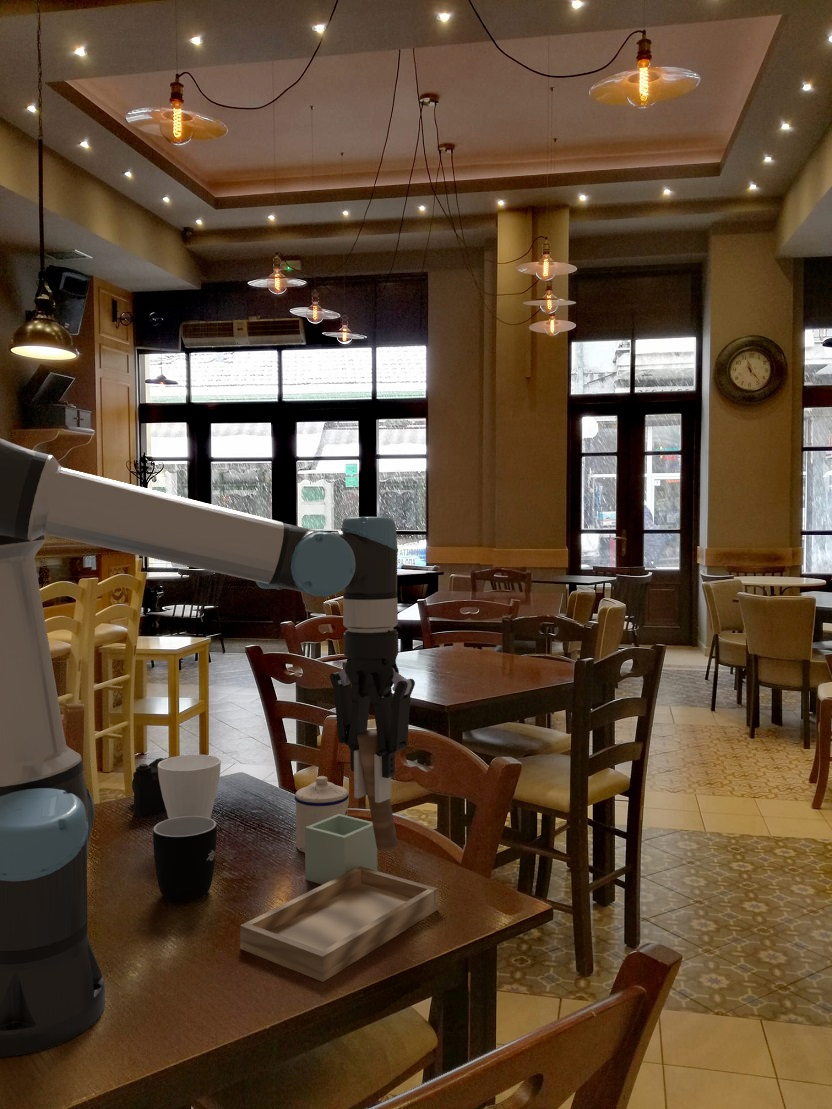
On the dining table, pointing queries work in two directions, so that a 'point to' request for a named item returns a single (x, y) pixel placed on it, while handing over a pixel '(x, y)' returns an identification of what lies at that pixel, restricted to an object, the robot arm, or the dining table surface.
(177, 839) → the mug
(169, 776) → the cup
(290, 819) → the dining table surface
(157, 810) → the black teapot
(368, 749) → the baguette
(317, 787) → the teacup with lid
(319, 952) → the serving tray
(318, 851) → the pot
